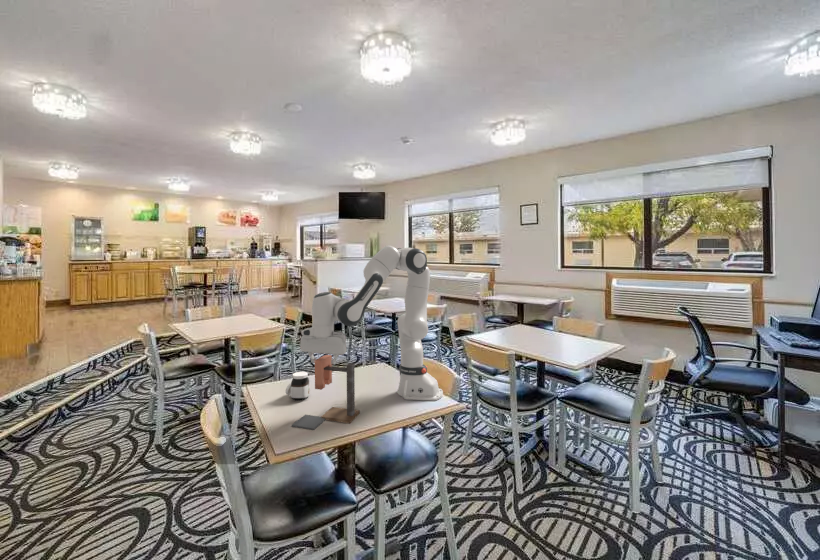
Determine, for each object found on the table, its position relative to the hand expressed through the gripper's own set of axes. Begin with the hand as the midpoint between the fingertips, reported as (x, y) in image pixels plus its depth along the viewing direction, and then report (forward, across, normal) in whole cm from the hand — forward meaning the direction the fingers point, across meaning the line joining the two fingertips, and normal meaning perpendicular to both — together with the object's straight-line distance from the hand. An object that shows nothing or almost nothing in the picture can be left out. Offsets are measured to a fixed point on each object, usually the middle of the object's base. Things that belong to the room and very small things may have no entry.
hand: (323, 363), depth 152 cm
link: (+10, 0, 0) cm, 10 cm away
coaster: (+22, +2, +9) cm, 24 cm away
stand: (+22, -6, 0) cm, 23 cm away
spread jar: (+22, +22, -13) cm, 34 cm away
